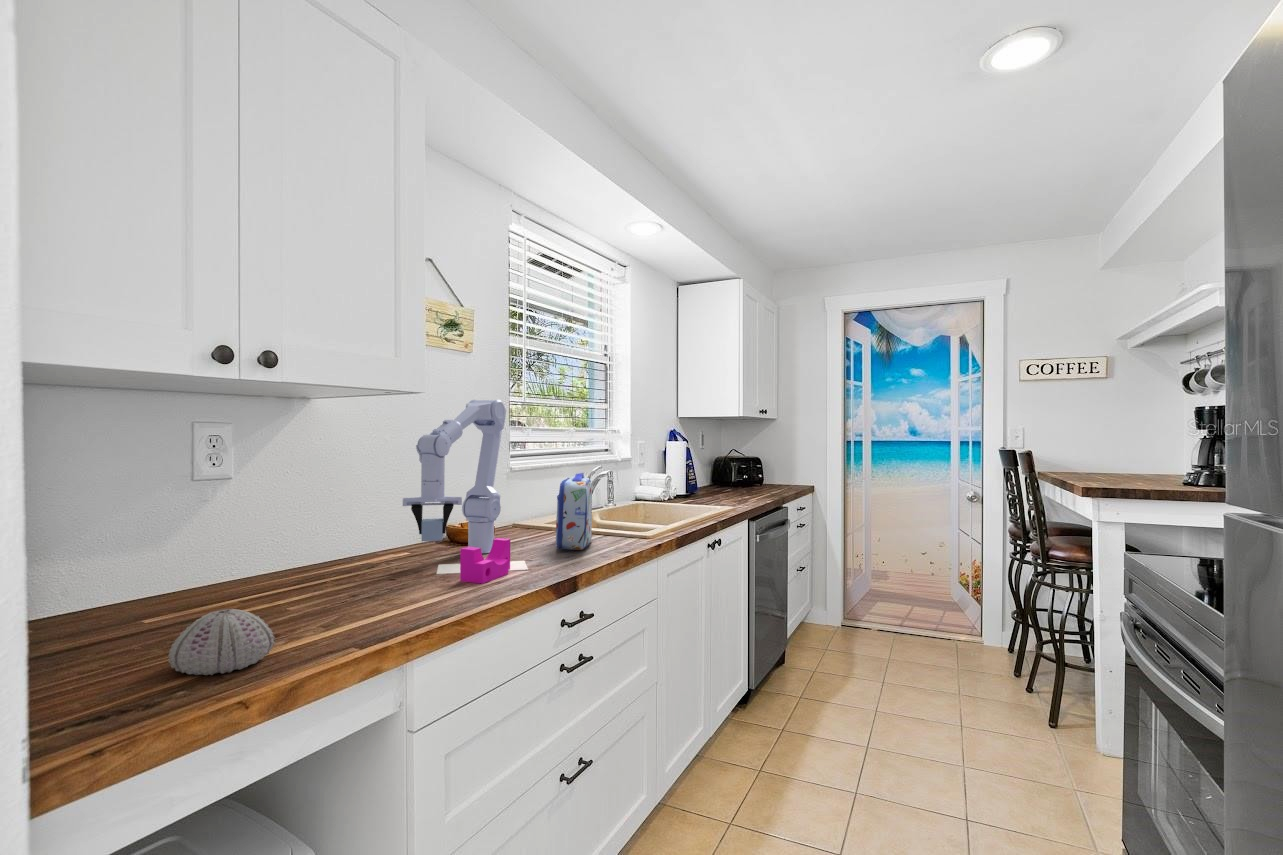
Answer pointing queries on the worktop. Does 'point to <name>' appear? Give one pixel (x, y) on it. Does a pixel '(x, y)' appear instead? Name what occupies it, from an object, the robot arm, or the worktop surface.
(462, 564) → the toy block
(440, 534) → the blue cube
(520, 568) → the letter board
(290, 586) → the worktop surface
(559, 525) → the lunch box
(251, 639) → the sea urchin shell
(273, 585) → the worktop surface
